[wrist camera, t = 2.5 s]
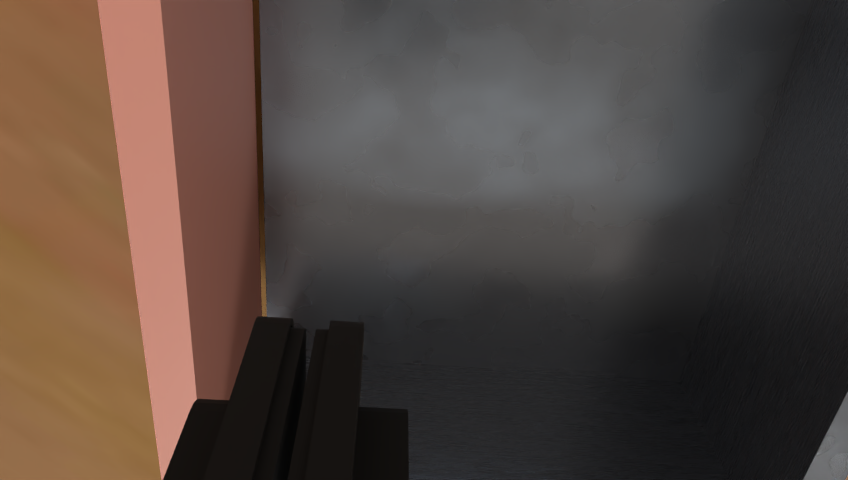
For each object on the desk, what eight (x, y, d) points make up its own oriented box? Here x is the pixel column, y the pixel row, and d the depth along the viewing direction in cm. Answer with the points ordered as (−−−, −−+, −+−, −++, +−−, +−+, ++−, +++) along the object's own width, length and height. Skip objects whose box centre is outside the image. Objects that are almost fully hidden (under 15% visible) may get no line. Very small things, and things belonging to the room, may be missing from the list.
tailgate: (244, -291, 17) (124, -399, 10) (263, 372, 28) (210, 544, 21) (196, -296, 17) (41, -409, 10) (233, 370, 28) (169, 542, 21)
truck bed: (868, -210, 21) (1260, -279, 11) (675, 359, 31) (790, 579, 22) (274, -277, 20) (135, -415, 10) (281, 332, 30) (217, 548, 21)
